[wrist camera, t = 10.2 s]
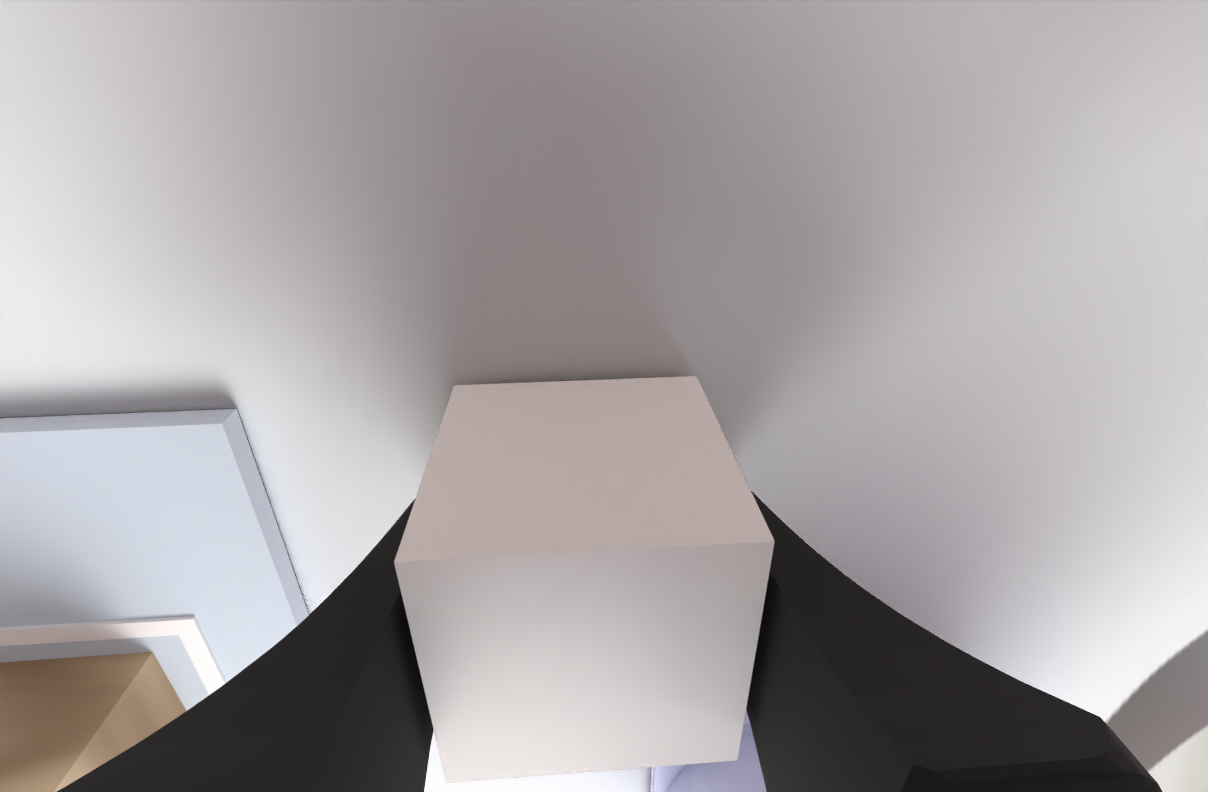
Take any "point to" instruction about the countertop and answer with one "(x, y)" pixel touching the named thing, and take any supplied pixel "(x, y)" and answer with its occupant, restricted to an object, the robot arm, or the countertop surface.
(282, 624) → the board
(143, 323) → the countertop surface
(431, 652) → the top cube
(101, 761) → the base cube
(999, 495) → the countertop surface
